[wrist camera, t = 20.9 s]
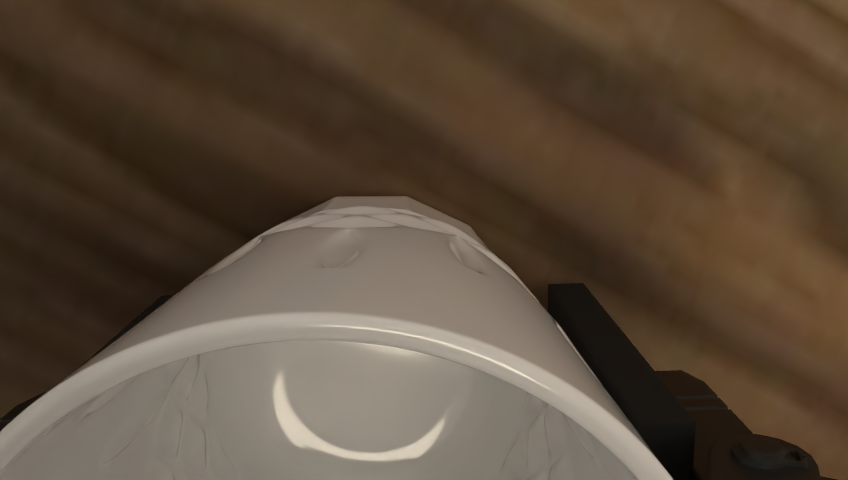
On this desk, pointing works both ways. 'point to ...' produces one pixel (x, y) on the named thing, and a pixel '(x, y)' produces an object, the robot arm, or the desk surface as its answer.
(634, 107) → the desk surface
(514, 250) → the desk surface
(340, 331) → the white cup
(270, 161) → the desk surface
